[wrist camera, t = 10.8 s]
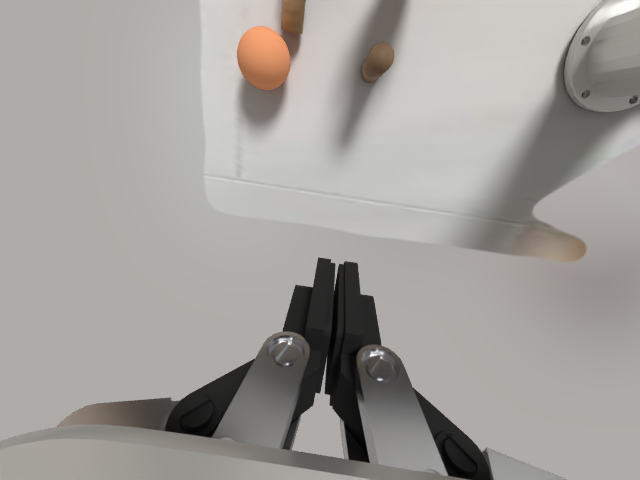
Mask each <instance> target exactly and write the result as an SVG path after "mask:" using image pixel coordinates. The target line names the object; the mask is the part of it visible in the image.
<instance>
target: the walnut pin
mask: <svg viewBox="0 0 640 480" xmlns="http://www.w3.org/2000/svg"><path fill="white" fill-rule="evenodd" d="M393 60H394V51H393V49H392V47H391V46H390V45H389V44H388V43H385V42H380V43H378V44H376V45H375V46H374V47H373V48H372V49H371V51H370V53H369V55H368V57H367V59H366V60H365V62H364V64H363V66H362V69H361V75H362V78H363V79H364V80H365V81H366V82H369V83H371V82H374V81H376V80H377V79H378V78H379V77H380V76H381V75H382V74H383V73H384V72H386V71H387V70H388V69H389V68H390V67H391V65H392V63H393Z"/></svg>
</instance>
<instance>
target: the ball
mask: <svg viewBox="0 0 640 480" xmlns="http://www.w3.org/2000/svg"><path fill="white" fill-rule="evenodd" d="M237 59H238V64H239V67H240V70H241V72H242V74H243V75H244V77H245V78H246V80H247V81H248V82H249V83H250V84H252V85H253V86H255V87H257V88H259V89H262V90H272V89H275V88H277V87H279V86H280V85H281V84H282V83H283V82H284V81H285V80H286V78H287V76H288V73H289V70H290V54H289V50H288V47H287V45H286V43H285V42H284V40H283V39H282V37H281V36H280V35H279V34H278V33H277V32H275V31H274V30H272V29H270V28H268V27H263V26H259V27H254V28H251V29H249V30H248V31H247V32H246V33H245V34H244V35H243V36H242V38H241V40H240V42H239V45H238V50H237Z"/></svg>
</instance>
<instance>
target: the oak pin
mask: <svg viewBox="0 0 640 480" xmlns="http://www.w3.org/2000/svg"><path fill="white" fill-rule="evenodd" d="M304 10H305V0H283V12H282V30H284V31H287V32H290V33H296V34H302V30H303V20H304Z"/></svg>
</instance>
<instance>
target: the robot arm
mask: <svg viewBox="0 0 640 480" xmlns="http://www.w3.org/2000/svg"><path fill="white" fill-rule="evenodd" d="M564 79H565V85H566V89H567V92H568V93H569V95H570V97H571V99H572V100H573V101H574V102H575V103H576V104H577V105H579V106H580V107H582V108H584V109H586V110H590V111H594V112H613V111H620V110H624V109H628V108H631V107H633V106H636V105H638V104H640V0H603V1H602V2H601V3H600V4H599V5H598V6H597V7H596V8H595V9H594V10H593V11H592V12H591V13H590V15H589V16H588V17H587V18H586V19H585V21H584V22H583V24H582V25H581V27H580V28H579V30H578V31H577V33H576V35H575V37H574V39H573V41H572V43H571V45H570V48H569V51H568V54H567V57H566V62H565V69H564ZM334 279H335V263H331V260H330V259H324V258H318V263H317V268H316V274H315V279H314V285H313V287H306V286H299V285H296V286H295V289H294V292H293V296H292V299H291V303H290V307H289V310H288V313H287V317H286V321H285V324H284V328H283V331H282V332H279V333H276V334H273V335H272V336H270V337H269V338H268V339H267V340H266V341H265V342H264V344H263V346H262V347H261V349H260V351H259V353H258V355H257V356H256V358H255V359H253V360H252V361H249V362H248V363H246V364H244V365H242V366H240V367H238V368H237V369H235V370H233V371H231V372H229V373H227V374H225V375H224V376H222V377H220V378H218V379H216V380H215V381H213V382H211V383H209V384H207V385H205V386H203V387H202V388H200V389H198V390H196V391H194V392H192V393H191V394H189V395H187V396H186V397H185V398H183V399H182V400H181V401H172V400H171V398H159V399H147V400H135V401H123V402H112V403H111V402H110V403H98V404H93V405H89V406H85V407H83V408H81V409H79V410H77V411H75V412H73V413H72V414H70V415H69V416H68V417H66V418H65V419H64V420H63V421H61V422H60V424H59V425H58V426H57V427H55V428H50V429H45V430H39V431H34V432H30V433H27V434H23V435H19V436H15V437H11V438H8V439H5V440H2V441H0V480H566V479H565V478H563V477H560V476H558V475H555V474H553V473H550V472H547V471H545V470H542V469H540V468H537V467H535V466H532V465H530V464H527V463H525V462H522V461H520V460H517V459H514V458H512V457H509V456H507V455H505V454H502V453H500V452H497V451H495V450H492V449H489V448H486V449H485V450H481V449H479V448H478V447H477V445H476V444H474V442H473V441H472V440H471V439H470V438H469V437H468V436H467V435H466V434H464V433H463V432H462V431H461V430H460V429H459V428H458V427H457V426H455V425H454V424H453V423H452V422H451V421H450V420H449V419H448V418H446V417H445V416H444V415H443V414H442V413H441V412H440V411H439V410H437V409H436V408H435V407H434V406H433V405H432V404H431V403H430V402H429V401H427V400H426V399H425V398H424V397H423V396H422V395H421V394H420V393H418V392H417V391H416V390H415V389H414V388H413V387H412V385H411V382H410V380H409V377H408V375H407V372H406V370H405V367H404V365H403V363H402V361H401V359H400V358H399V357H398V356H397V355H396V354H395V353H394V352H393V351H391V350H390V349H388V348H386V347H384V346H382V345H381V339H380V334H379V328H378V321H377V315H376V309H375V303H374V298H373V296H368V295H361V294H360V285H359V273H358V264H357V263H353V262H346V261H345V262H344V265H343V264H339V267H338V273H337V279H336V284H335V290H334ZM326 359H327V367H326V381H325V382H326V383H325V394H328V395H330V406H333V409H334V410H335V412H336V413H337V414H338V416H339V417H340V418H341V419H340V428H341V437H342V445H343V453H344V459H341V458H334V457H328V456H322V455H316V454H310V453H303V452H298V451H291V450H292V447H293V443H294V439H295V436H296V433H297V429H298V425H299V422H300V417H301V414H302V413H304V412H305V411H306V410H307V409H309V408H310V407H311V406H313V403H314V397H315V393H320V391H321V385H322V380H323V375H324V369H325V364H326Z"/></svg>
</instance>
